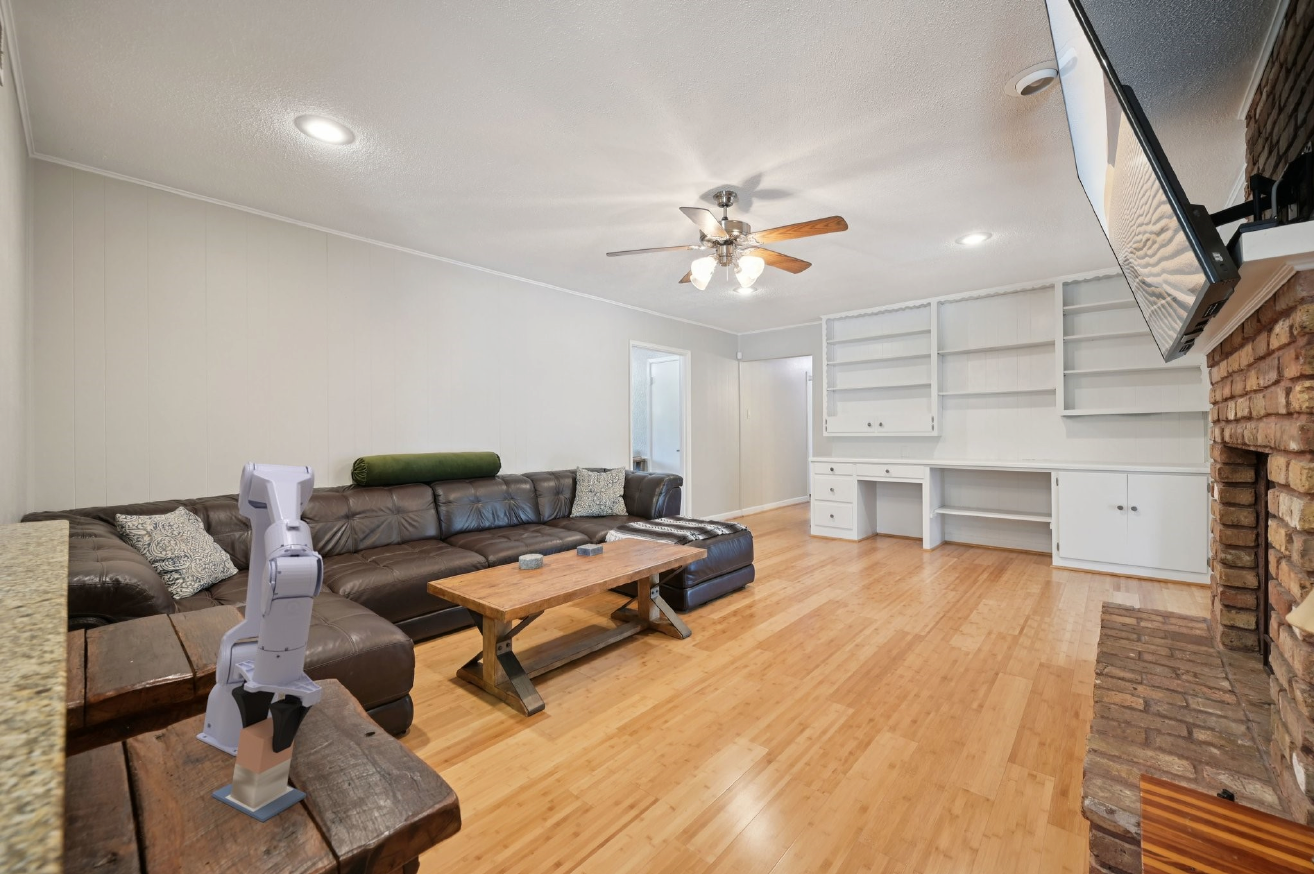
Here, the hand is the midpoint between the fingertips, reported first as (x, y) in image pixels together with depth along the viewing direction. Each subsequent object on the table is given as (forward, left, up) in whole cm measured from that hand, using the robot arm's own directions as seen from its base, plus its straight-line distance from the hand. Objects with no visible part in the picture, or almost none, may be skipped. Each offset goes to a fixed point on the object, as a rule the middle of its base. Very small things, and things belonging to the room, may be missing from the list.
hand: (267, 742), depth 75 cm
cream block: (0, 0, -7) cm, 7 cm away
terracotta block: (0, 0, -2) cm, 2 cm away
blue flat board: (0, 0, -7) cm, 7 cm away
